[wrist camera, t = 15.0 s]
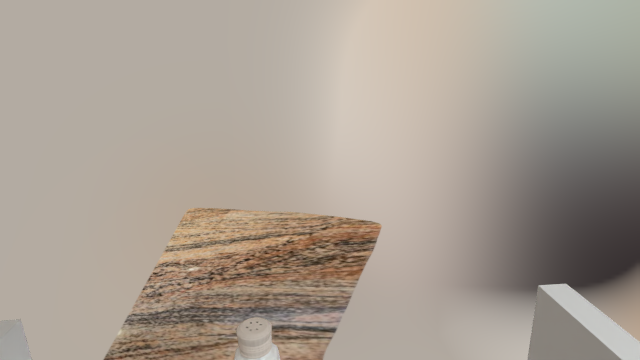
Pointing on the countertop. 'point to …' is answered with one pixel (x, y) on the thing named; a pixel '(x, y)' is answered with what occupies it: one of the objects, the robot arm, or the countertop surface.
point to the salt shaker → (255, 341)
